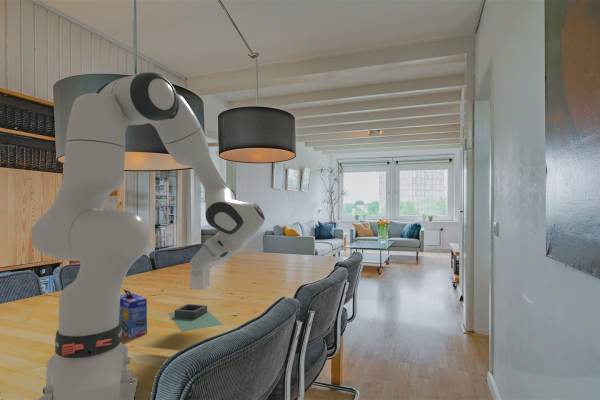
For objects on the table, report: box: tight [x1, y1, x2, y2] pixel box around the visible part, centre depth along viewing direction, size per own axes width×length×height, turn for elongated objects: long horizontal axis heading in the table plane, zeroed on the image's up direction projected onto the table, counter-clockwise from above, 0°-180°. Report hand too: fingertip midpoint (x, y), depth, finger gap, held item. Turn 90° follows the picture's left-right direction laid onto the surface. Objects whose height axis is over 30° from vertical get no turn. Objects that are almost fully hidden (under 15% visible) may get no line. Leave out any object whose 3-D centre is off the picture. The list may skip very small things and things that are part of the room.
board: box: [168, 303, 224, 332], centre depth 119 cm, size 21×13×4 cm, turn 31°
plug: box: [189, 265, 211, 291], centre depth 114 cm, size 4×4×9 cm
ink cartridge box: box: [119, 289, 148, 339], centre depth 106 cm, size 10×6×14 cm, turn 51°
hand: (198, 272), depth 114 cm, fingers closed on plug, 4 cm apart
